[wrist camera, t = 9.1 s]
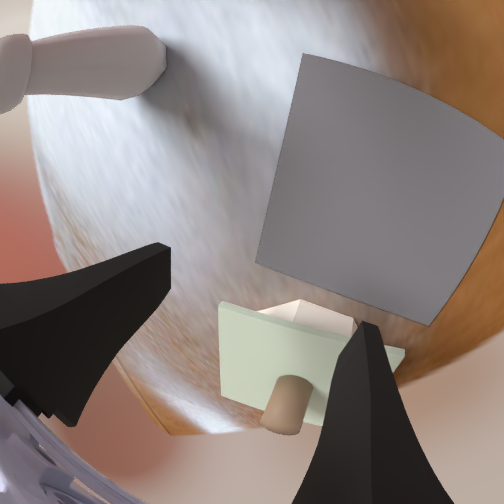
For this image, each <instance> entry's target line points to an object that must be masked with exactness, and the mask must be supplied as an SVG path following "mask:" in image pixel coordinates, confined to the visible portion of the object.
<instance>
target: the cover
mask: <svg viewBox="0 0 504 504" xmlns="http://www.w3.org/2000/svg"><path fill="white" fill-rule="evenodd" d="M218 319H219V353H220V378H221V396H224V397H227V398H229V399H232V400H235V401H238V402H240V403H243V404H246V405H249V406H252V407H255V408H258V409H261V410H264V413H263V416H262V418H261V421H260V423H261V425H262V426H263V427H264V428H266V429H267V430H269V431H272V432H274V433H278V434H282V435H296V434H298V433H299V432H300V429H301V426H302V423H303V422H307V423H311V424H315V425H319V426H323V421H324V416H325V411H326V406H327V401H328V396H329V391H330V385H331V380H332V377H333V373H334V369H335V366H336V363H337V359H338V356H339V354H340V353H341V351H342V350H343V349H344V347H345V346H346V344H347V343H348V341H349V340H350V339H351V337H348V336H344V335H340V334H336V333H332V332H328V331H324V330H320V329H316V328H313V327H309V326H305V325H301V324H298V323H294V322H291V321H287V320H284V319H280V318H277V317H273V316H270V315H266V314H263V313H260V312H256V311H253V310H250V309H246V308H243V307H240V306H237V305H234V304H230V303H227V302H224V301H222V302H221V303H220V304H219V306H218ZM384 347H385V350H386V353H387V356H388V360H389V363H390V366H391V369H392V372H394V371H395V369H396V368H397V367H398V365H399V364H400V362H401V361H402V360H403V358H404V357H405V349H401V348H396V347H391V346H387V345H384Z"/></svg>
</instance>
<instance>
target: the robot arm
mask: <svg viewBox="0 0 504 504" xmlns="http://www.w3.org/2000/svg"><path fill="white" fill-rule="evenodd" d="M170 289H171V247H168V246H166V245H163V244H161V243H159V242H157V243H153V244H150V245H147V246H144V247H141V248H139V249H136V250H133V251H131V252H128V253H125V254H122V255H120V256H117V257H114V258H112V259H109V260H106V261H104V262H101V263H98V264H95V265H92V266H89V267H86V268H83V269H80V270H77V271H73V272H70V273H66V274H62V275H58V276H54V277H49V278H44V279H38V280H34V281H27V282H19V283H7V284H0V504H106V503H105V502H103V501H102V500H100V499H98V498H97V497H95V496H94V495H92V494H91V493H89V492H88V491H87V490H85V489H84V488H82V487H81V486H80V485H78V484H77V483H75V482H74V481H73V480H74V479H75V478H74V476H75V477H76V478H77V479H79V480H80V481H81V482H82V483H84V484H85V485H86V486H87V487H89V488H90V489H91V490H93V491H94V492H95V493H97V494H98V495H100V496H101V497H102V498H104V499H105V500H107V501H108V502H110V503H111V504H148V503H147V502H145V501H143V500H141V499H140V498H138V497H136V496H134V495H132V494H131V493H129V492H128V491H126V490H125V489H123V488H122V487H120V486H119V485H117V484H115V483H114V482H112V481H111V480H110V479H108V478H107V477H105V476H104V475H103V474H101V473H100V472H98V471H97V470H96V469H95V468H93V467H92V466H91V465H89V464H88V463H87V462H86V461H84V460H83V459H82V458H81V457H79V456H78V455H77V454H76V453H75V452H73V451H72V450H71V449H70V448H69V447H68V446H66V445H65V444H64V443H63V442H62V441H61V440H60V439H59V438H58V437H57V436H56V435H55V434H53V432H52V431H51V430H49V429H48V428H47V427H46V426H45V424H43V422H42V421H41V420H40V419H39V418H38V416H39V415H40V414H41V413H43V414H44V415H45V416H46V417H47V418H50V417H51V416H52V415H53V414H54V415H55V416H56V417H57V418H58V419H59V420H61V421H62V422H63V423H64V424H65V425H66V426H68V427H74V426H76V425H77V422H78V420H79V418H80V416H81V413H82V411H83V409H84V407H85V405H86V403H87V401H88V399H89V397H90V395H91V394H92V391H93V390H94V388H95V386H96V385H97V383H98V381H99V380H100V378H101V377H102V375H103V373H104V371H105V370H106V369H107V367H108V366H109V364H110V363H111V361H112V360H113V359H114V357H115V356H116V354H117V353H118V352H119V350H120V349H121V348H122V347H123V346H124V344H125V343H126V342H127V341H128V340H129V339H130V338H131V337H132V336H133V334H134V333H135V332H136V331H137V330H138V329H139V328H140V327H141V326H142V325H143V323H144V322H145V321H146V320H147V319H148V318H149V317H150V316H151V315H152V314H153V312H154V311H155V310H156V309H157V308H158V306H159V305H160V304H161V302H162V301H163V299H164V298H165V296H166V295H167V294H168V292H169V291H170ZM39 444H40V445H41V446H42V447H43V448H44V449H45V450H46V451H45V450H44V449H42V448H41V447H39ZM72 474H73V475H74V476H73V475H72ZM292 504H454V502H453V501H452V500H451V498H450V497H449V495H448V494H447V492H446V491H445V490H444V488H443V487H442V485H441V483H440V482H439V480H438V478H437V476H436V475H435V473H434V471H433V469H432V468H431V466H430V464H429V462H428V460H427V458H426V456H425V454H424V452H423V450H422V448H421V446H420V444H419V442H418V439H417V437H416V435H415V432H414V430H413V428H412V425H411V423H410V421H409V418H408V416H407V413H406V410H405V408H404V405H403V402H402V399H401V396H400V394H399V391H398V388H397V385H396V382H395V379H394V375H393V372H392V369H391V366H390V363H389V360H388V356H387V353H386V350H385V347H384V343H383V340H382V337H381V334H380V331H379V328H378V326H376V325H373V324H370V323H367V322H364V321H362V322H361V323H360V325H359V327H358V328H357V330H356V331H355V333H354V334H353V336H352V337H351V339H350V340H349V341H348V343H347V344H346V346H345V347H344V349H343V350H342V351H341V353H340V354H339V356H338V359H337V363H336V366H335V369H334V373H333V377H332V380H331V385H330V391H329V396H328V401H327V406H326V411H325V416H324V421H323V426H322V430H321V434H320V438H319V442H318V445H317V448H316V450H315V453H314V456H313V458H312V461H311V463H310V466H309V469H308V471H307V473H306V475H305V477H304V480H303V482H302V484H301V486H300V488H299V490H298V492H297V494H296V496H295V498H294V500H293V502H292Z"/></svg>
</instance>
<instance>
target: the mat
mask: <svg viewBox="0 0 504 504" xmlns="http://www.w3.org/2000/svg"><path fill="white" fill-rule="evenodd" d="M503 199H504V139H502V138H501V137H499V136H498V135H497V134H495V133H494V132H492V131H491V130H489V129H488V128H486V127H485V126H483V125H482V124H480V123H479V122H477V121H475V120H474V119H472V118H471V117H469V116H467V115H466V114H464V113H462V112H460V111H459V110H457V109H455V108H453V107H451V106H450V105H448V104H446V103H444V102H442V101H440V100H438V99H436V98H434V97H432V96H430V95H428V94H426V93H424V92H421V91H419V90H417V89H415V88H413V87H410V86H408V85H406V84H403V83H401V82H398V81H396V80H393V79H391V78H388V77H385V76H383V75H380V74H377V73H374V72H371V71H368V70H365V69H362V68H359V67H356V66H352V65H349V64H345V63H342V62H338V61H334V60H330V59H326V58H322V57H318V56H314V55H309V54H304V53H303V55H302V59H301V64H300V68H299V73H298V77H297V82H296V86H295V91H294V95H293V99H292V104H291V108H290V113H289V117H288V122H287V126H286V130H285V135H284V139H283V143H282V148H281V152H280V157H279V161H278V165H277V170H276V174H275V178H274V183H273V187H272V191H271V196H270V200H269V204H268V209H267V213H266V217H265V222H264V226H263V230H262V234H261V239H260V243H259V247H258V251H257V256H256V260H255V263H257V264H260V265H262V266H265V267H268V268H270V269H273V270H276V271H278V272H281V273H284V274H287V275H289V276H292V277H295V278H297V279H300V280H303V281H305V282H308V283H311V284H314V285H316V286H319V287H322V288H324V289H327V290H330V291H333V292H335V293H338V294H341V295H344V296H346V297H349V298H352V299H355V300H357V301H360V302H363V303H366V304H368V305H371V306H374V307H377V308H379V309H382V310H385V311H388V312H390V313H393V314H396V315H399V316H402V317H404V318H407V319H410V320H413V321H416V322H418V323H421V324H424V325H427V326H429V325H430V324H431V322H432V321H433V320H434V318H435V317H436V316H437V314H438V313H439V312H440V310H441V309H442V308H443V306H444V305H445V303H446V302H447V301H448V299H449V298H450V296H451V295H452V293H453V292H454V290H455V289H456V287H457V286H458V284H459V283H460V281H461V279H462V278H463V276H464V275H465V273H466V271H467V270H468V268H469V266H470V265H471V263H472V261H473V260H474V258H475V256H476V254H477V253H478V251H479V249H480V247H481V245H482V243H483V241H484V239H485V238H486V236H487V234H488V232H489V230H490V228H491V226H492V223H493V221H494V219H495V217H496V215H497V213H498V210H499V208H500V206H501V203H502V201H503Z"/></svg>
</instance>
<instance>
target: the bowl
mask: <svg viewBox="0 0 504 504" xmlns="http://www.w3.org/2000/svg"><path fill="white" fill-rule="evenodd" d="M257 312H260V313H263V314H266V315H270V316H273V317H277V318H280V319H284V320H287V321H291V322H294V323H298V324H301V325H305V326H309V327H313V328H316V329H320V330H324V331H328V332H332V333H336V334H340V335H344V336H348V337H352V336H353V334H354V333H355V331H356V330H357V328H358V327H357V325H356V323H355V321H354V319H353V318H352V317H349V316H346V315H343V314H340V313H338V312H335V311H332V310H329V309H327V308H324V307H321V306H318V305H316V304H313V303H310V302H307V301H305V300H302V299H300V300H296V301H293V302H289V303H286V304H282V305H279V306H275V307H271V308H268V309H264V310H260V311H257Z"/></svg>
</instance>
